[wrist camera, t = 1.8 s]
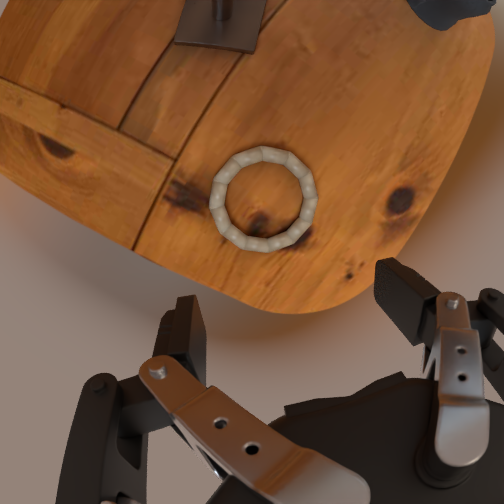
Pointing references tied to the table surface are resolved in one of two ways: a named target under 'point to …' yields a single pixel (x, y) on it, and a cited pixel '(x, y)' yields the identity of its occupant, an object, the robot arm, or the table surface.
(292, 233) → the ring
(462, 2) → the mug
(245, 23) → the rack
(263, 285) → the table surface
